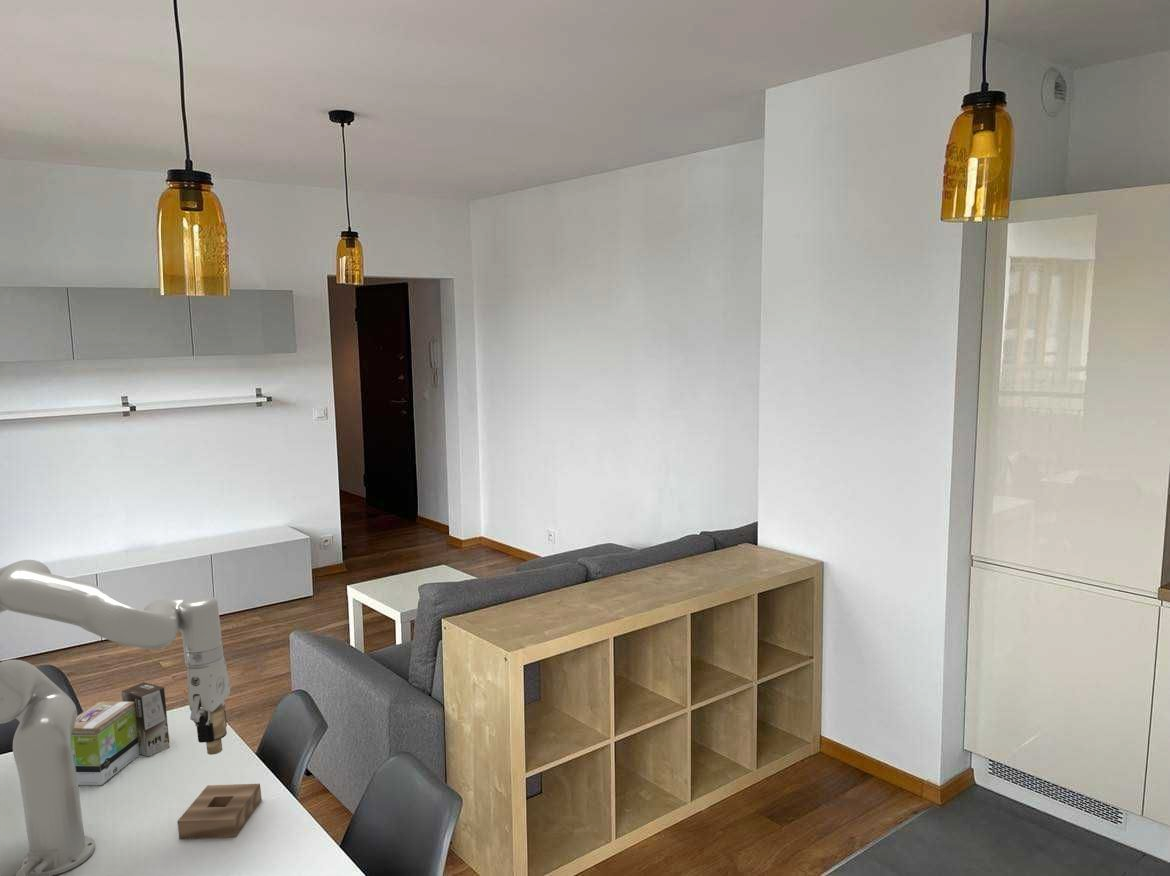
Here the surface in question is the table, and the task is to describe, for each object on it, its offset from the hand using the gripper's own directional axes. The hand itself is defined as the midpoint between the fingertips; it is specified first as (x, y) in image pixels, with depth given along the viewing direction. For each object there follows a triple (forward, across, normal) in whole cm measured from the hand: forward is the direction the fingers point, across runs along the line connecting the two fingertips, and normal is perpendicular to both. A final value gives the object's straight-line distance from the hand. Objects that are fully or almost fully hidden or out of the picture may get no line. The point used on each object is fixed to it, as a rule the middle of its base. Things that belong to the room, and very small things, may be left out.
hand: (212, 733), depth 181 cm
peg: (+4, 0, 0) cm, 4 cm away
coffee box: (+20, +34, +34) cm, 52 cm away
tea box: (+20, +23, +40) cm, 50 cm away
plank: (+20, 0, 0) cm, 20 cm away
